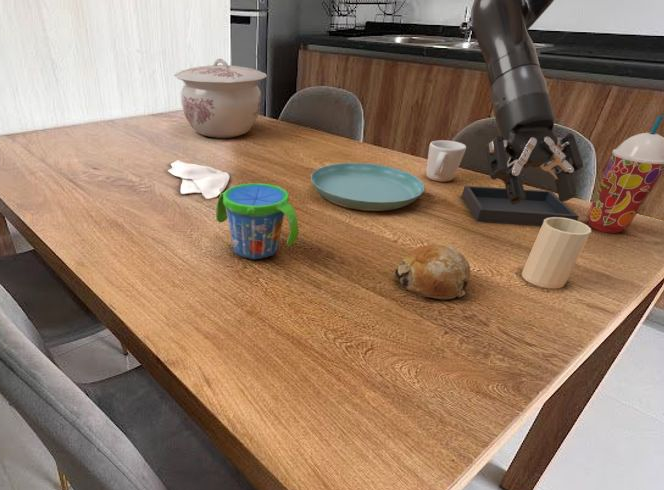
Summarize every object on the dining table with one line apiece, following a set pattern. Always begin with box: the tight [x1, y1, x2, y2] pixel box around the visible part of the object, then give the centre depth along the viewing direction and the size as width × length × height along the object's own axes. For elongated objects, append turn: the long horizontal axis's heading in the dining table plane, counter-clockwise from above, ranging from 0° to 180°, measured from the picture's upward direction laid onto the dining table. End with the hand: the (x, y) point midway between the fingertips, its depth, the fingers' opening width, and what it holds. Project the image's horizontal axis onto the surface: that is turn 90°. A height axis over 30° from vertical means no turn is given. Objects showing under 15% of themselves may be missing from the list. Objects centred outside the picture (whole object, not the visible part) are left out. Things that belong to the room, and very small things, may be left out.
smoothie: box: [586, 115, 664, 234], centre depth 81 cm, size 8×8×20 cm
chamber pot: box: [173, 58, 268, 139], centre depth 137 cm, size 28×28×21 cm
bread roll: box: [394, 244, 471, 301], centre depth 67 cm, size 10×10×8 cm
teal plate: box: [310, 162, 425, 212], centre depth 99 cm, size 24×24×3 cm
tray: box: [461, 185, 580, 227], centre depth 92 cm, size 18×14×2 cm
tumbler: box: [521, 217, 592, 289], centre depth 68 cm, size 6×6×9 cm
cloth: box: [167, 159, 230, 200], centre depth 106 cm, size 26×14×2 cm, turn 17°
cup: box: [425, 139, 467, 183], centre depth 105 cm, size 11×8×8 cm
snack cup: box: [215, 182, 299, 261], centre depth 74 cm, size 16×10×10 cm
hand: (543, 201), depth 69 cm, fingers open, 8 cm apart
